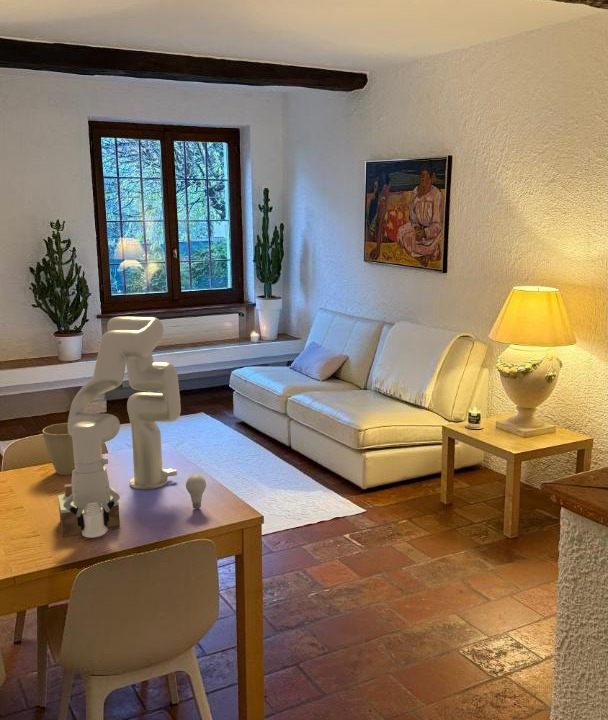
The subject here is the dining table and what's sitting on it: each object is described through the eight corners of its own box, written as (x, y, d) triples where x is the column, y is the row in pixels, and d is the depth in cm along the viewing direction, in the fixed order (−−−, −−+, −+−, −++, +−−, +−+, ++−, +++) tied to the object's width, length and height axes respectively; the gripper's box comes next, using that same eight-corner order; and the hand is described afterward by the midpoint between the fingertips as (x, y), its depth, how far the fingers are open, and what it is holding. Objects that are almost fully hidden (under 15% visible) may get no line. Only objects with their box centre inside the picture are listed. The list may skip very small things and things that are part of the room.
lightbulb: (210, 506, 232) (209, 473, 229) (201, 514, 226) (200, 480, 224) (192, 504, 234) (191, 471, 231) (183, 511, 228) (182, 477, 226)
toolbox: (114, 512, 228) (113, 491, 226) (120, 527, 217) (118, 505, 215) (60, 520, 222) (58, 498, 221) (62, 536, 211) (61, 513, 210)
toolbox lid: (113, 490, 226) (112, 478, 225) (118, 505, 215) (117, 492, 214) (58, 498, 221) (57, 485, 220) (61, 513, 210) (60, 500, 209)
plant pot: (82, 478, 256) (79, 434, 253) (39, 479, 257) (36, 434, 254) (94, 464, 271) (92, 422, 268) (54, 464, 271) (51, 422, 268)
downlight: (86, 525, 214) (83, 493, 212) (111, 525, 214) (108, 493, 211) (77, 539, 207) (74, 506, 204) (102, 539, 206) (99, 506, 204)
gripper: (118, 456, 212) (122, 515, 216) (55, 465, 206) (61, 525, 210) (122, 465, 205) (126, 526, 209) (57, 474, 199) (62, 536, 203)
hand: (93, 525), depth 210 cm, fingers closed on downlight, 5 cm apart
